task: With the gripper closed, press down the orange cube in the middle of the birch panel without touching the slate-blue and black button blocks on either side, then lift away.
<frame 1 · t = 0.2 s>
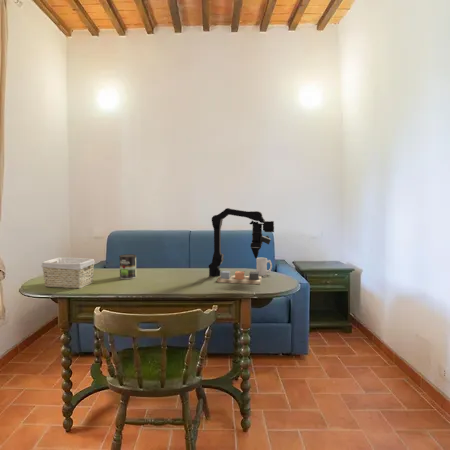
hand: (256, 257, 200), 14 cm above the table, tool pointing down, fingers open, 9 cm apart
coffee can: (128, 277, 206), on the table
birch panel: (239, 283, 192), on the table
slate button: (225, 275, 193), point 4 cm above the table, slide at 0.0 cm
storage basket: (69, 285, 188), on the table
orange cube: (239, 276, 192), point 4 cm above the table, slide at 0.0 cm
mug: (264, 277, 207), on the table
black button: (254, 276, 190), point 4 cm above the table, slide at 0.0 cm
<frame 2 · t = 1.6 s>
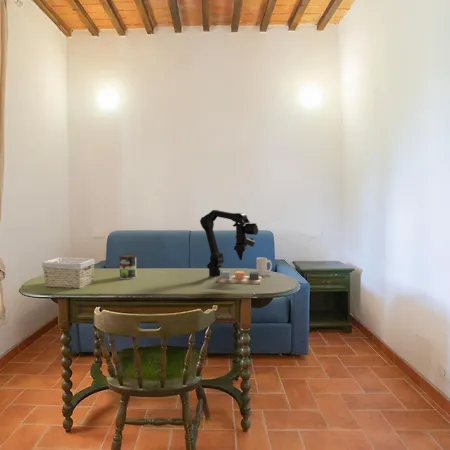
hand: (240, 260, 194), 13 cm above the table, tool pointing down, fingers closed
nothing on the table moved.
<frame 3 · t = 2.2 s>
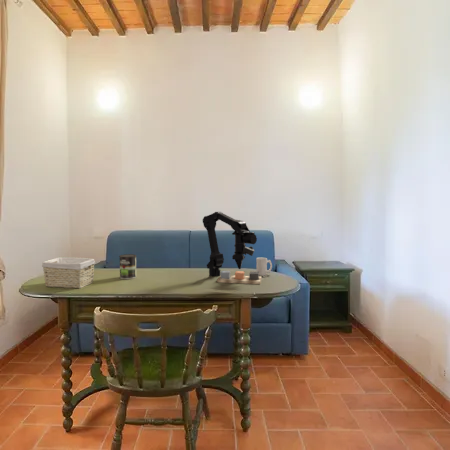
hand: (239, 268, 191), 8 cm above the table, tool pointing down, fingers closed
nothing on the table moved.
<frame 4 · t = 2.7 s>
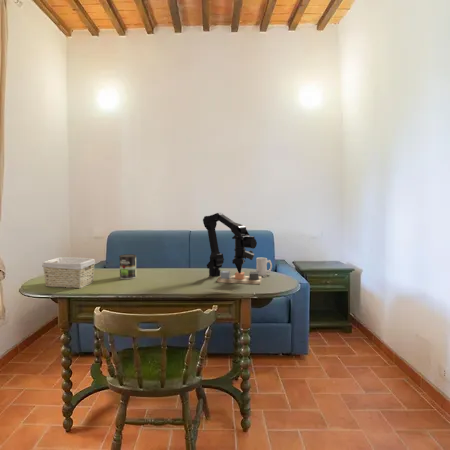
hand: (239, 273, 192), 6 cm above the table, tool pointing down, fingers closed, pressing on orange cube
orange cube: (239, 277, 192), point 4 cm above the table, slide at 0.5 cm, touching gripper
everything else where it was.
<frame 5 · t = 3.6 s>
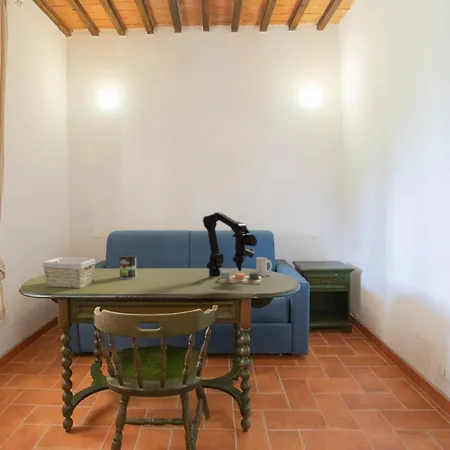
hand: (239, 271, 191), 7 cm above the table, tool pointing down, fingers closed
orange cube: (239, 278, 192), point 3 cm above the table, slide at 1.1 cm
everything else where it was.
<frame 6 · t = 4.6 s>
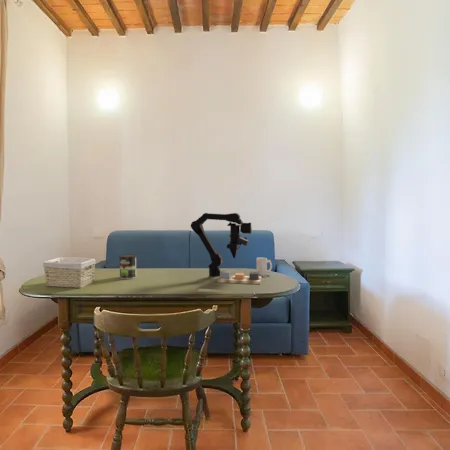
hand: (234, 258, 203), 13 cm above the table, tool pointing down, fingers closed
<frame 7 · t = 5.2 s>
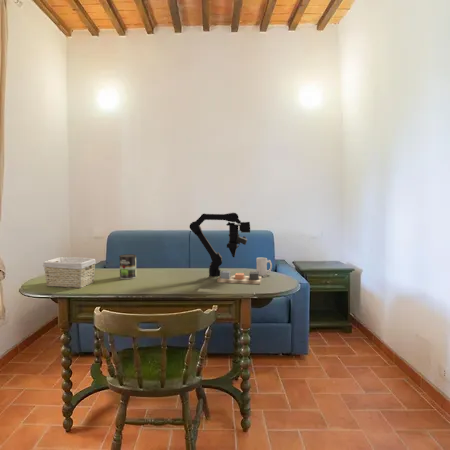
hand: (233, 257, 205), 13 cm above the table, tool pointing down, fingers closed
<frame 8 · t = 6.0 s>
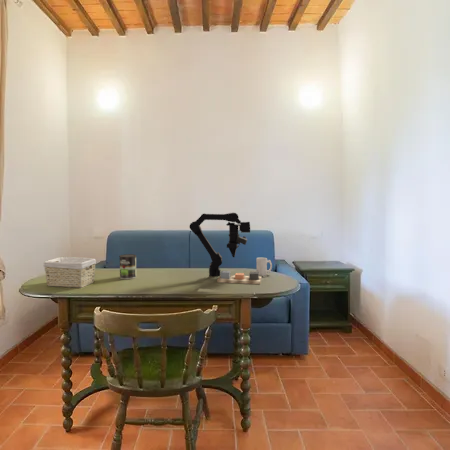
hand: (233, 257, 205), 13 cm above the table, tool pointing down, fingers closed
at the end: orange cube slide at 1.1 cm; slate button slide at 0.0 cm; black button slide at 0.0 cm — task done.
